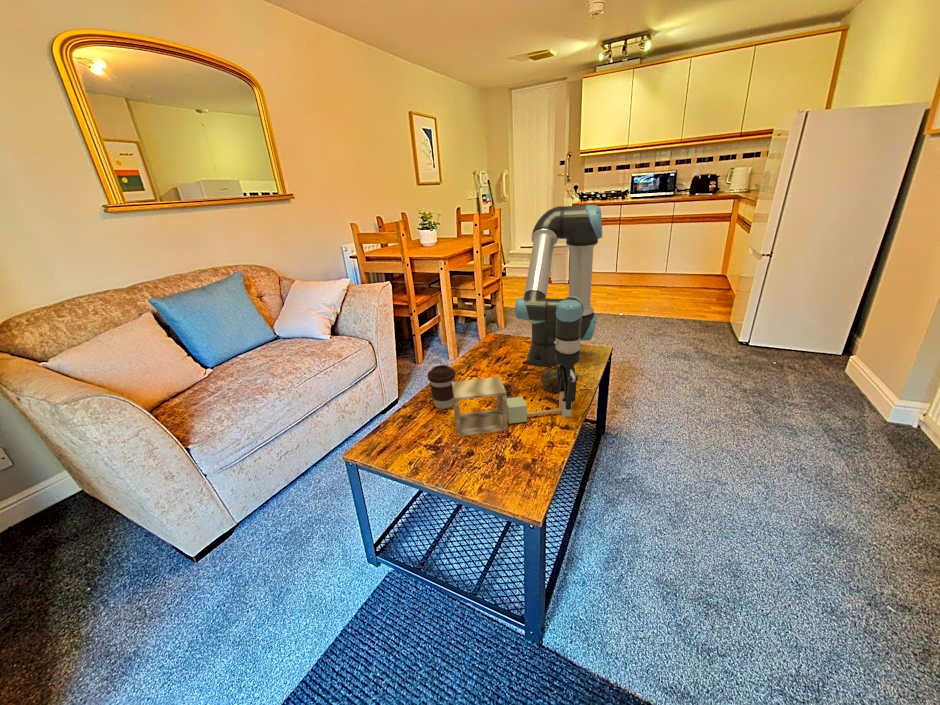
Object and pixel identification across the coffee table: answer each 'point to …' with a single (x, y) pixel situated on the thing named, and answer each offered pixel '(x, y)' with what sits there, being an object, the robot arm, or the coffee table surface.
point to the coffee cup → (442, 385)
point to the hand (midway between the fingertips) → (565, 413)
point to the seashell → (549, 380)
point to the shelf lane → (481, 419)
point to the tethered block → (519, 409)
